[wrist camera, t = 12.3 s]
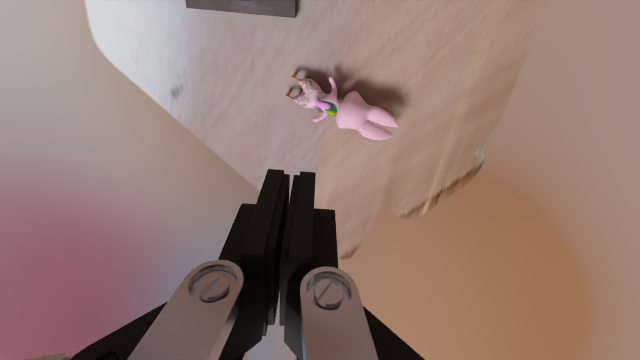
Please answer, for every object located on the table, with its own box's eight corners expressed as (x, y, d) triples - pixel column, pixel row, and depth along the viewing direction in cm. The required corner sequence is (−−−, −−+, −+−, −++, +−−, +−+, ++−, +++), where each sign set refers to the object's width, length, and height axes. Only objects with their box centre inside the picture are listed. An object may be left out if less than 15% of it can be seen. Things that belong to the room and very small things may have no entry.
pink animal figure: (286, 104, 39) (383, 146, 40) (273, 115, 34) (385, 164, 35) (300, 59, 36) (406, 106, 37) (288, 64, 31) (412, 118, 31)
